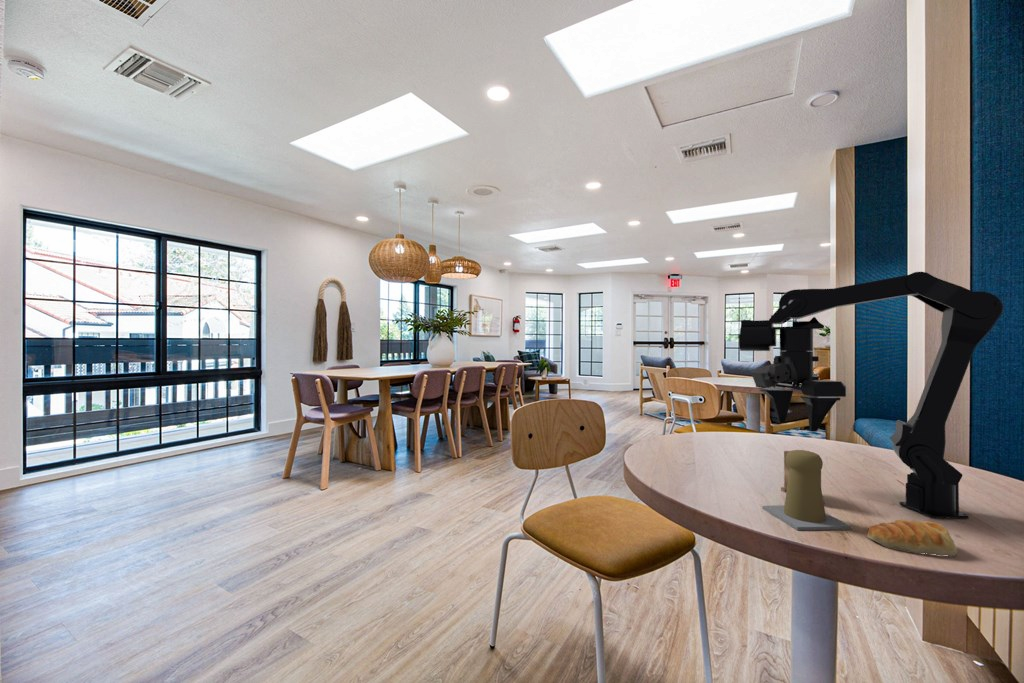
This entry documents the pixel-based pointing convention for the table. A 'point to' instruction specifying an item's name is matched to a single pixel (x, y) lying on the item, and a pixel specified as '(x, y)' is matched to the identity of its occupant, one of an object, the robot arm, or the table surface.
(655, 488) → the table surface
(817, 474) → the olive peg figure
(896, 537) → the pastry
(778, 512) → the coaster
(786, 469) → the screen
